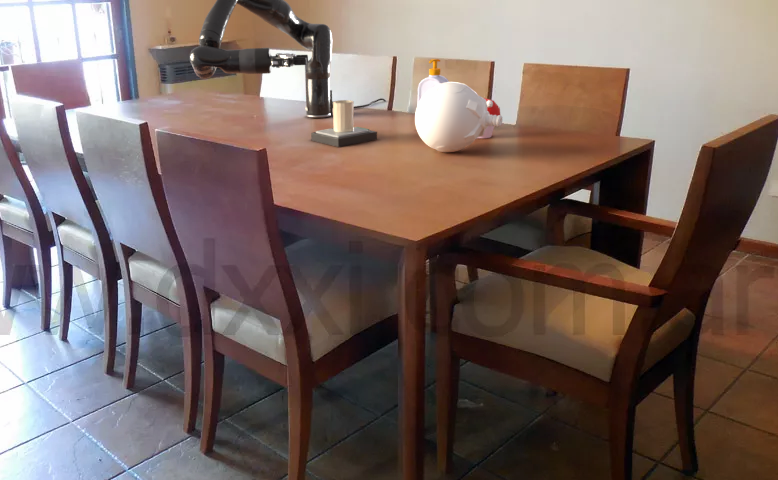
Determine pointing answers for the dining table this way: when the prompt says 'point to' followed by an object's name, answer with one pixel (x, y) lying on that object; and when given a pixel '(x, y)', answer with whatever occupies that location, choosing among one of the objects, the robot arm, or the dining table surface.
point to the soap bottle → (430, 80)
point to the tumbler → (343, 115)
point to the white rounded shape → (452, 117)
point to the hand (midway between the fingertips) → (307, 59)
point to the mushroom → (492, 110)
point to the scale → (343, 136)
